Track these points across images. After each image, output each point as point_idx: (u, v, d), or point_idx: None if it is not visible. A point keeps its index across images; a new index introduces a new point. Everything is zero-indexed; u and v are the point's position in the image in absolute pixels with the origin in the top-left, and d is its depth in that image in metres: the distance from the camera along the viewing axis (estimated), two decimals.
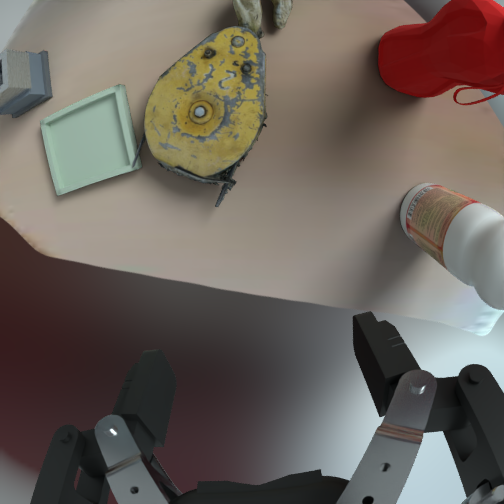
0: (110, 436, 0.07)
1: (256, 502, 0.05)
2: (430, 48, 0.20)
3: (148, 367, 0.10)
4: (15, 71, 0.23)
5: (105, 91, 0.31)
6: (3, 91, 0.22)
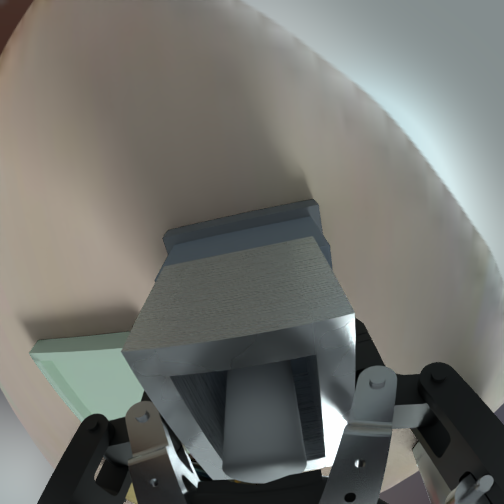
0: (143, 422, 0.08)
1: (256, 502, 0.05)
2: None
3: None
4: None
5: None
6: None
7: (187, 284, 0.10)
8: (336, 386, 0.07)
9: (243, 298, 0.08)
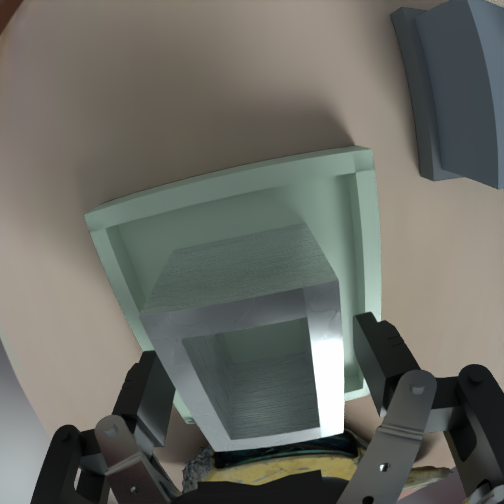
0: (110, 436, 0.07)
1: (256, 502, 0.05)
2: None
3: (148, 367, 0.10)
4: None
5: None
6: None
7: (195, 263, 0.11)
8: (326, 349, 0.09)
9: (245, 271, 0.10)
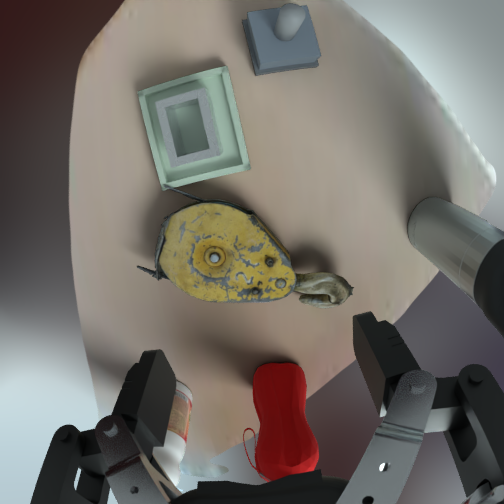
0: (110, 436, 0.07)
1: (256, 502, 0.05)
2: (278, 418, 0.40)
3: (148, 367, 0.10)
4: None
5: (245, 153, 0.36)
6: (169, 157, 0.32)
7: None
8: (204, 109, 0.30)
9: None
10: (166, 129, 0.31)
